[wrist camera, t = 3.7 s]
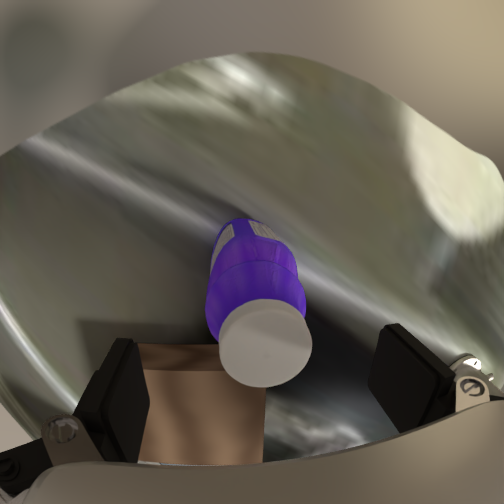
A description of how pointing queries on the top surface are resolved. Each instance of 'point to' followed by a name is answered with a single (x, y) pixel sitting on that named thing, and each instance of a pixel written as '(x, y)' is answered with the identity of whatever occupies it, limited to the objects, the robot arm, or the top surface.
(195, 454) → the plinth
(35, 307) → the top surface
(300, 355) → the bottle
